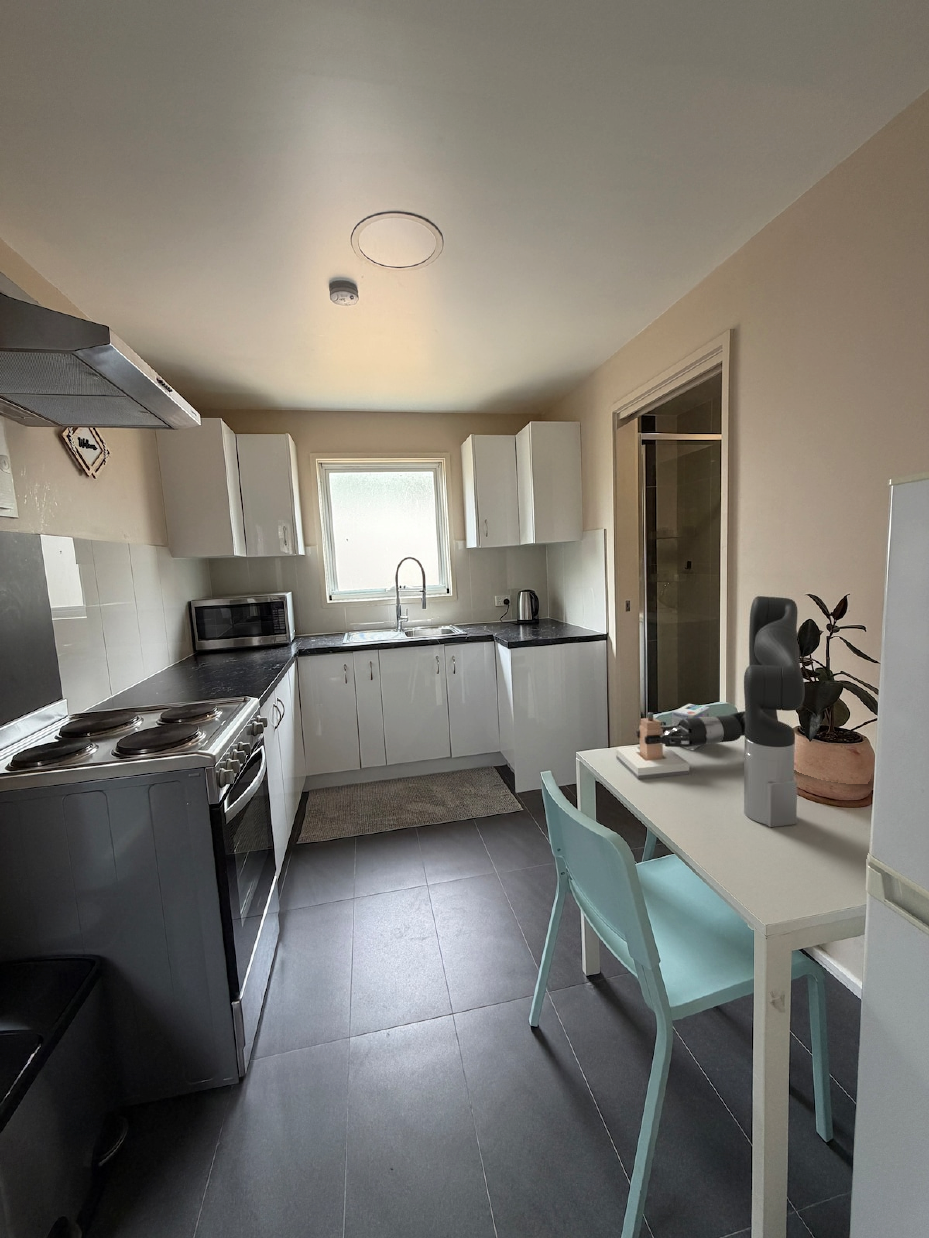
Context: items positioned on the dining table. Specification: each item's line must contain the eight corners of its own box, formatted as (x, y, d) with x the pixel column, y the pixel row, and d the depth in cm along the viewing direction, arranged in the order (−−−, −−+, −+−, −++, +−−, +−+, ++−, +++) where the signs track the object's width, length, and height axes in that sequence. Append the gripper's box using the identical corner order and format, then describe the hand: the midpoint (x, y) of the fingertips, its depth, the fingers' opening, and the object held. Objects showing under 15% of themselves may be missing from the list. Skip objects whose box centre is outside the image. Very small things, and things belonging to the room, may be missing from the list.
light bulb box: (688, 735, 160) (688, 702, 158) (710, 741, 155) (710, 706, 153) (671, 745, 153) (671, 710, 152) (693, 750, 148) (693, 715, 146)
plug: (662, 761, 137) (662, 714, 135) (647, 762, 137) (646, 716, 135) (655, 755, 141) (654, 709, 140) (639, 756, 141) (639, 711, 139)
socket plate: (689, 774, 133) (689, 761, 132) (637, 779, 131) (637, 767, 131) (663, 753, 147) (662, 743, 146) (616, 758, 145) (616, 747, 145)
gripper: (686, 710, 146) (629, 715, 144) (716, 726, 132) (653, 732, 130) (686, 735, 147) (630, 741, 145) (716, 754, 133) (653, 760, 131)
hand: (641, 737), depth 138 cm, fingers closed on plug, 4 cm apart
